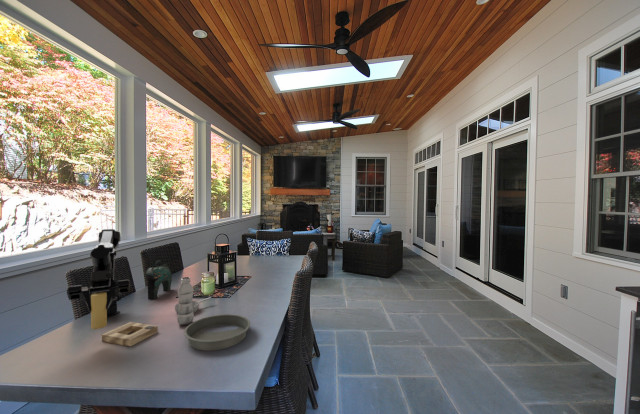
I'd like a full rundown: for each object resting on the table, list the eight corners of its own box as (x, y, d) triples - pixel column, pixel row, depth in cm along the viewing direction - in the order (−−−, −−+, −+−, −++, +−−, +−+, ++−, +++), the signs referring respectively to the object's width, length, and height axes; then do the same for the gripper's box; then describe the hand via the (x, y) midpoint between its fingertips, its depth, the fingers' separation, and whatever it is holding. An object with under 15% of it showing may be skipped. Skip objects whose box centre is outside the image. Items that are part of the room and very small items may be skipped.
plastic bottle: (197, 321, 125) (197, 276, 125) (185, 327, 119) (185, 280, 118) (185, 319, 127) (185, 275, 127) (173, 325, 121) (173, 279, 120)
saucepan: (170, 312, 135) (170, 304, 135) (205, 302, 150) (205, 295, 150) (181, 318, 129) (181, 309, 129) (216, 306, 143) (216, 299, 143)
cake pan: (263, 332, 116) (263, 321, 116) (213, 360, 94) (213, 347, 94) (222, 319, 128) (222, 309, 128) (170, 342, 107) (170, 330, 107)
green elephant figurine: (154, 300, 151) (154, 263, 151) (142, 300, 151) (142, 263, 151) (173, 289, 171) (173, 256, 171) (163, 289, 171) (163, 256, 171)
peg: (87, 328, 102) (87, 296, 102) (98, 323, 106) (98, 292, 106) (99, 329, 101) (99, 296, 101) (109, 324, 106) (109, 292, 106)
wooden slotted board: (101, 341, 107) (101, 334, 107) (130, 327, 118) (130, 321, 118) (130, 346, 103) (130, 339, 103) (157, 332, 114) (157, 325, 114)
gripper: (67, 264, 102) (60, 304, 93) (129, 259, 112) (128, 294, 103) (72, 280, 109) (66, 319, 100) (130, 274, 119) (129, 308, 110)
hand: (98, 309), depth 103 cm, fingers closed on peg, 5 cm apart
